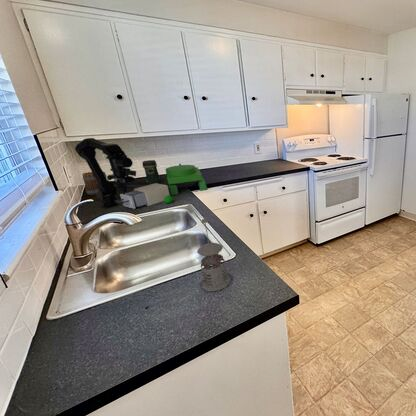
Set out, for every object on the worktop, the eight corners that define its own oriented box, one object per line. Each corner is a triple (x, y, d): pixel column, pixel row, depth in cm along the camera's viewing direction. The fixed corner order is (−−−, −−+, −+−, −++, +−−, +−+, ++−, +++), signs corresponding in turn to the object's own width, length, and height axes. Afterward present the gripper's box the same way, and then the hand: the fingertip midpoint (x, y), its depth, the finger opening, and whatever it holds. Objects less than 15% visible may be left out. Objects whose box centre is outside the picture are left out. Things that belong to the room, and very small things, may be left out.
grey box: (149, 205, 170) (145, 191, 166) (137, 202, 175) (133, 188, 172) (170, 198, 182) (167, 185, 178) (159, 196, 187) (155, 183, 184)
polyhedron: (170, 204, 172) (168, 197, 170) (163, 204, 173) (161, 197, 171) (175, 201, 177) (173, 194, 175) (168, 201, 177) (167, 194, 176)
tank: (202, 179, 229) (198, 160, 223) (207, 189, 200) (203, 168, 194) (169, 183, 217) (165, 163, 211) (170, 195, 189) (165, 172, 183)
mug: (95, 195, 190) (88, 175, 185) (83, 194, 192) (76, 174, 187) (115, 189, 204) (109, 169, 199) (104, 188, 207) (97, 169, 201)
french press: (205, 295, 90) (191, 227, 81) (197, 278, 99) (183, 215, 89) (234, 284, 95) (224, 219, 86) (224, 268, 104) (214, 209, 95)
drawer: (125, 211, 159) (121, 199, 156) (115, 208, 164) (111, 196, 161) (155, 202, 174) (152, 190, 171) (145, 199, 179) (142, 188, 176)
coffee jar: (161, 181, 225) (156, 159, 218) (160, 183, 218) (154, 160, 211) (148, 182, 222) (142, 160, 215) (146, 184, 215) (140, 161, 208)
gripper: (140, 165, 157) (147, 190, 163) (123, 162, 166) (130, 186, 171) (119, 169, 148) (127, 195, 154) (102, 166, 157) (111, 191, 162)
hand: (125, 192), depth 161 cm, fingers closed
